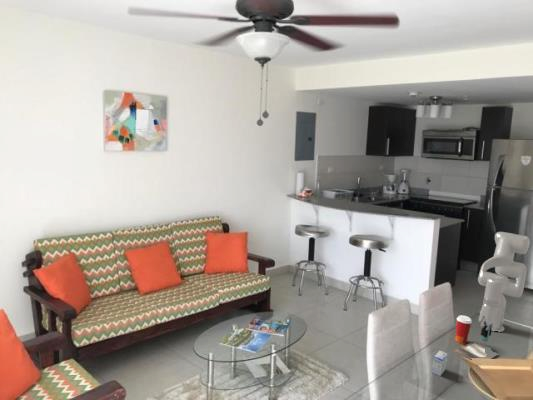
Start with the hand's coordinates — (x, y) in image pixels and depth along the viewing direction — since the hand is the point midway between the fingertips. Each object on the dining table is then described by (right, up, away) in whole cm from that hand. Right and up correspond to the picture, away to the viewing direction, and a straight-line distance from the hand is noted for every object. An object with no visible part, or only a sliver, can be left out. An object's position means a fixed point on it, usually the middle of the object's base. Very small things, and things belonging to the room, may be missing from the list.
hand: (485, 335), depth 224 cm
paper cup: (-5, -9, +17) cm, 20 cm away
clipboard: (-2, -11, +6) cm, 13 cm away
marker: (0, -3, +1) cm, 3 cm away
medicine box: (-30, -13, -14) cm, 35 cm away
